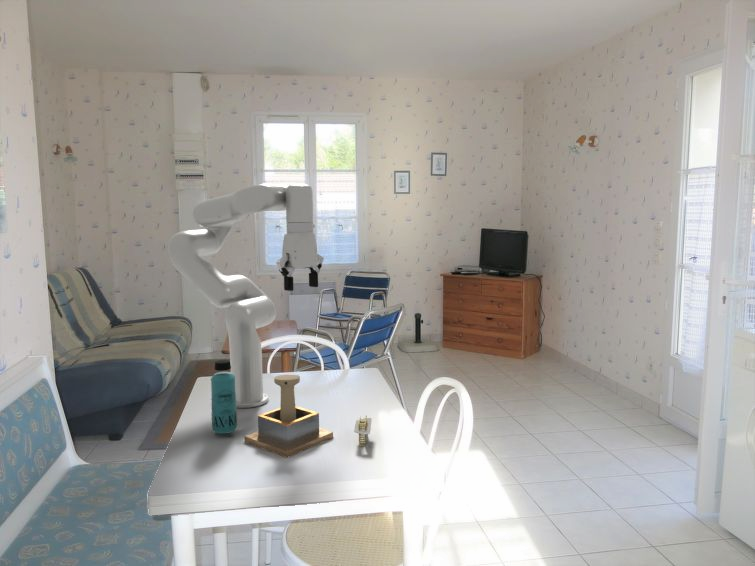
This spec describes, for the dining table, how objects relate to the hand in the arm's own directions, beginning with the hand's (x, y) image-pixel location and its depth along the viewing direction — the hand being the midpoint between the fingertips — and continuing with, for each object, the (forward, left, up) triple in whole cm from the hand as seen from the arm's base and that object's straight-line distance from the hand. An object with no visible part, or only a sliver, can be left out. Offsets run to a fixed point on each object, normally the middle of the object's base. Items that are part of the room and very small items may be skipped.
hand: (301, 288), depth 173 cm
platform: (+29, -7, -37) cm, 48 cm away
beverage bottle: (-3, -26, -36) cm, 45 cm away
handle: (+13, -18, -35) cm, 41 cm away
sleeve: (+13, -18, -36) cm, 43 cm away
